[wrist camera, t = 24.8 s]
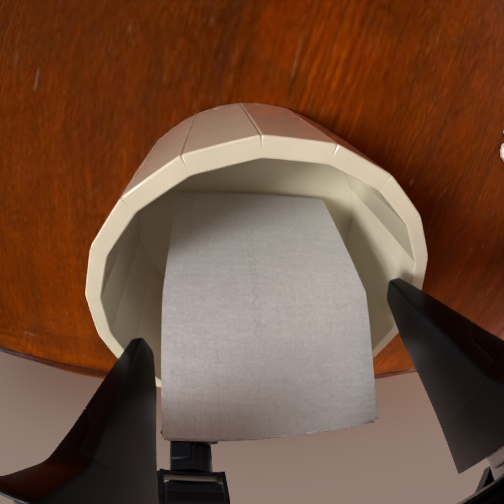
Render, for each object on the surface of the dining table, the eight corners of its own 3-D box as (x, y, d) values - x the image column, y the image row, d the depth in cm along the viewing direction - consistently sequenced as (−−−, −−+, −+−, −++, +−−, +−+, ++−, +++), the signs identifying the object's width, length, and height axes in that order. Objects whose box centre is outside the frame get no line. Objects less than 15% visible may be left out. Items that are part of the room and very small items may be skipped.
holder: (357, 279, 19) (401, 364, 14) (176, 322, 20) (171, 416, 14) (346, 84, 12) (440, 111, 7) (95, 146, 13) (21, 214, 7)
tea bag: (178, 191, 13) (152, 421, 6) (322, 198, 15) (405, 398, 7) (180, 252, 16) (169, 449, 9) (305, 255, 17) (355, 434, 10)
